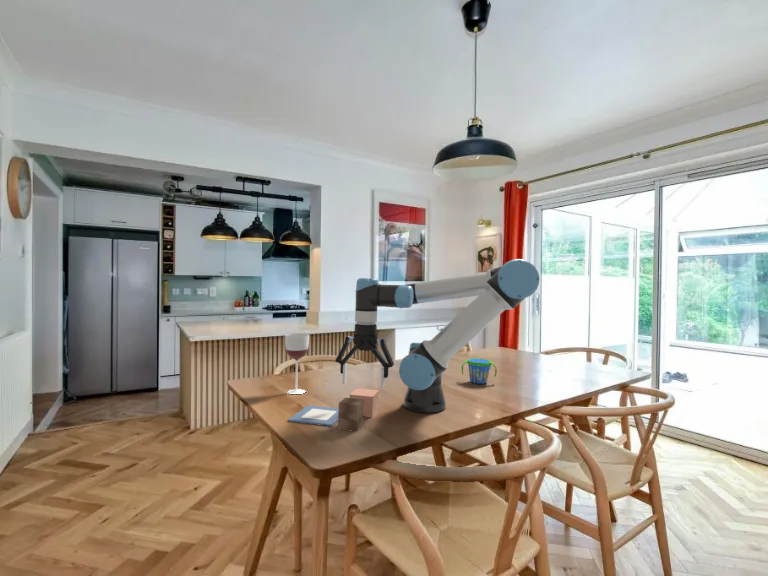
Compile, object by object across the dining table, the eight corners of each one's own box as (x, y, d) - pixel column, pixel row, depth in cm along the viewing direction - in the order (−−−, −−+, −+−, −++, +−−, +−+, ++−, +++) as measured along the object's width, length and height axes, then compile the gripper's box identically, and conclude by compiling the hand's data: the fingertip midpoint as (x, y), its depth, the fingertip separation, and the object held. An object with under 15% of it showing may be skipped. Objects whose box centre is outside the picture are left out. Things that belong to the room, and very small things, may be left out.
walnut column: (363, 424, 120) (363, 399, 120) (357, 431, 115) (357, 405, 114) (344, 422, 122) (345, 397, 122) (338, 429, 116) (338, 403, 116)
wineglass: (313, 391, 156) (314, 334, 156) (295, 396, 148) (297, 337, 147) (296, 387, 161) (297, 332, 161) (278, 393, 152) (279, 335, 152)
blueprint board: (348, 411, 133) (348, 409, 133) (332, 426, 118) (332, 424, 118) (308, 406, 136) (308, 405, 136) (287, 421, 122) (287, 419, 122)
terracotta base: (378, 410, 135) (378, 390, 135) (372, 417, 127) (372, 396, 127) (356, 408, 137) (357, 388, 137) (349, 415, 129) (349, 394, 129)
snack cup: (496, 381, 179) (496, 359, 179) (496, 387, 169) (497, 364, 169) (462, 378, 183) (462, 357, 183) (460, 383, 173) (460, 361, 173)
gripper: (403, 324, 132) (401, 385, 132) (335, 320, 138) (333, 379, 138) (399, 326, 125) (396, 391, 125) (327, 322, 131) (325, 384, 131)
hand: (363, 385), depth 132 cm, fingers open, 13 cm apart
